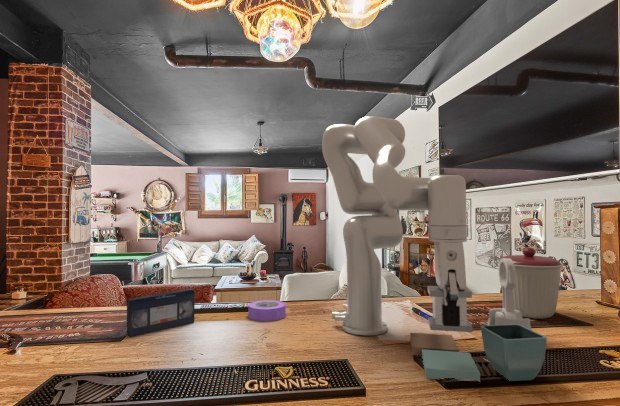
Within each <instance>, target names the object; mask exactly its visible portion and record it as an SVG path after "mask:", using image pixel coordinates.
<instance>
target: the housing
mask: <svg viewBox="0 0 620 406" xmlns="http://www.w3.org/2000/svg"><path fill="white" fill-rule="evenodd" d="M446 290H450V289H449V287H446ZM427 293H428V295H429V297H430V298H431V297H432V317H431V316H430V317H429V316H428V318H427V323H428V326H429V330H430V331H439V332H440V331H442V332H460V333H473V325H472V323H471V322H470V321H469V320H468V312H467V311H468V309H467V308H468V307H467V300H468V299H472V298H473V292H472V291H471V290H470V289H469V288H468V287H467V286H466V291H464V292H462V291H461V290H460V288H459V287H458V295H459V306H460V326H444V325H443V309H442V305H444V296H443V291H442V290H441V289H440V288H439V286H438V285H427ZM448 294H449V293H447V296H448Z"/></svg>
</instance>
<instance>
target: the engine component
mask: <svg viewBox="0 0 620 406" xmlns="http://www.w3.org/2000/svg"><path fill="white" fill-rule="evenodd" d="M501 258H502V257H501ZM501 258H500V259H501ZM498 278H499V283H500V286H501V295H502V296H501V297H502V308H501V307H497V308H496V307H495V308H491V309H489V311H488V319H487V325H509V324H519V325H521V326H523V327H526V328H528V329H530V330H532V327H531V318H526V317H525V318H524V317H522V314H521V312H520V311H519V310H514V296H513V288H514V287H515V284H516V272H515V266H514V263H513V261H512V260H511V259H510V258H502V259H501V260H500V262H499V263H498Z"/></svg>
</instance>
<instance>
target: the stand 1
mask: <svg viewBox="0 0 620 406" xmlns="http://www.w3.org/2000/svg"><path fill="white" fill-rule="evenodd" d="M409 341H410V342H409V343H410V348H411V355H412V356H413V357H415V356H414V355H422V349H425V350H439V351H453V352H460V350H459V348H458V346H457V344H456V343H457V342H455V339H454V338H453V335H451V334H438V333H437V334H436V333H425V332H424V333H423V332H409Z"/></svg>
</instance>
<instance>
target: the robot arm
mask: <svg viewBox="0 0 620 406" xmlns="http://www.w3.org/2000/svg"><path fill="white" fill-rule="evenodd" d="M404 127H405V126H403V124H402V122H400V121H399V120H397V119H395V118H388V117H381V116H375V115H371V116H370V115H369V116H364V117H362V118H359V119H358V120H357V121H356V122H355V124H346V123H345V124H344V123H338V124H332V125H330V126H328V127H327V128H326V129H325V130H324V132H323V135H322V141H321V152H322V155H323V158H324V162H325V163H326V165H327V168H328V169H329V172H330V173H331V176H332V180H333V183H334V187H335V188H334V189H335V191H336V195H337V199H338V201H339V205H340V207H341V210H342V211H343V212H344V213H345V214H347V215H356V216H352V217H350V218H348V219H347V220H346V221H345V222H344V224H343V228H342V236H343V242H344V247H345V252H346V279H347V280H346V281H347V282H346V285H347V287H346V289H347V290H346V293H347V298H346V299H347V300H346V302H347V303H346V304H347V305H346V306H347V309H346V311H343V312H339V311H332V312H331V319H334V321H336V322H337V321H338V322H339V321H341V322H342V323H341V328H342V330H343V331H345V332H346V333H349V334H352V335H356V336H363V337H364V336H366V337H367V336H368V337H369V336H378V335H382V334H385V333H386V332H387V331H388V324H387V323H386V322H385V321H382V319H383V318H382V312H383V311H382V309H383V308H382V265H381V261H380V259H379V257H378V255H377V253H376V251H375V250H377V249H380V250H381V249H390V248H391V249H392V248H395V247H397V246H398V245H400V243H401V242H402V240H403V235H404V231H403V225H402V222H401V218H400V215H399V212H398V211H428V212H427V214H428V215H427V217H428V218H427V219H428V221H427V222H428V223H427V224H428V242H432V243H434V273H435V283H436V284H437V285H436V286H439V288H440V289H441V290H442V291H443V296H444V305H442V309H443V325H444V326H460V306H459V295H458V287H459V288H460V290H461V291H462V292H464V291H466V287H467V274H466V262H465V261H466V260H465V259H466V258H465V250H464V244H463V243H465V242H468V233H467V232H468V231H467V230H468V229H467V228H468V226H467V184H466V180H465V178H464V176H462V175H459V174H439V175H434V176H431V177H421V176H420V177H417V176H402V175H401V174H400V173H399V172H398V171H397V170H396V168H397V167H399V165H400V164H401V163H402V162H403V161H404V159H405V156H406V149H405V146H404V144H403V143H404V141H405V139H406V138H405V137H406V131H405V128H404ZM348 154H353V155H354V154H355V155H367V156H368V157H369V159H370V160H371V162H372V163H373V167H372V180H373V181H372V182H367V181H365V180H364V177H363V176H362V173H361V169H360V168H359V165H358V164H357V163H356V161H354V160H353V158H352V157H351V156H350V155H348ZM446 287H449V289H450V290H446ZM447 293H449V294H448V296H447Z"/></svg>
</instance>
